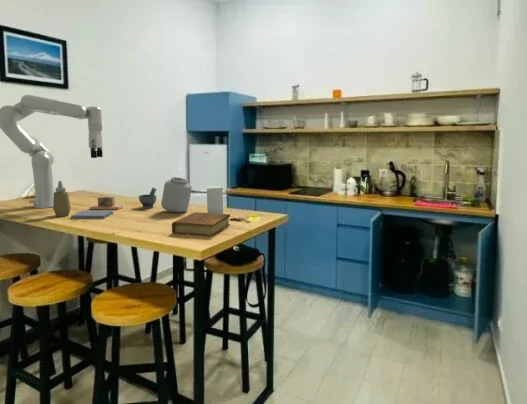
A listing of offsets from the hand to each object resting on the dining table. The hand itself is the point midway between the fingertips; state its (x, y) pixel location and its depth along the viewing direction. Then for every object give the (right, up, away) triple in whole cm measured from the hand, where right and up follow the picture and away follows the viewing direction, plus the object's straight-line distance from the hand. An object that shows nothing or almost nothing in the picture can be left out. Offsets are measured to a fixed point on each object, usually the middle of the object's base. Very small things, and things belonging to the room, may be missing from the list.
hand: (96, 157), depth 232 cm
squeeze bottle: (-5, -34, -30) cm, 46 cm away
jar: (+52, -32, -16) cm, 63 cm away
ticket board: (+11, -34, -30) cm, 47 cm away
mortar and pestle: (+32, -30, -4) cm, 44 cm away
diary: (+72, -39, -56) cm, 99 cm away
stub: (+10, -30, -9) cm, 33 cm away
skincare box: (+74, -34, -27) cm, 86 cm away
